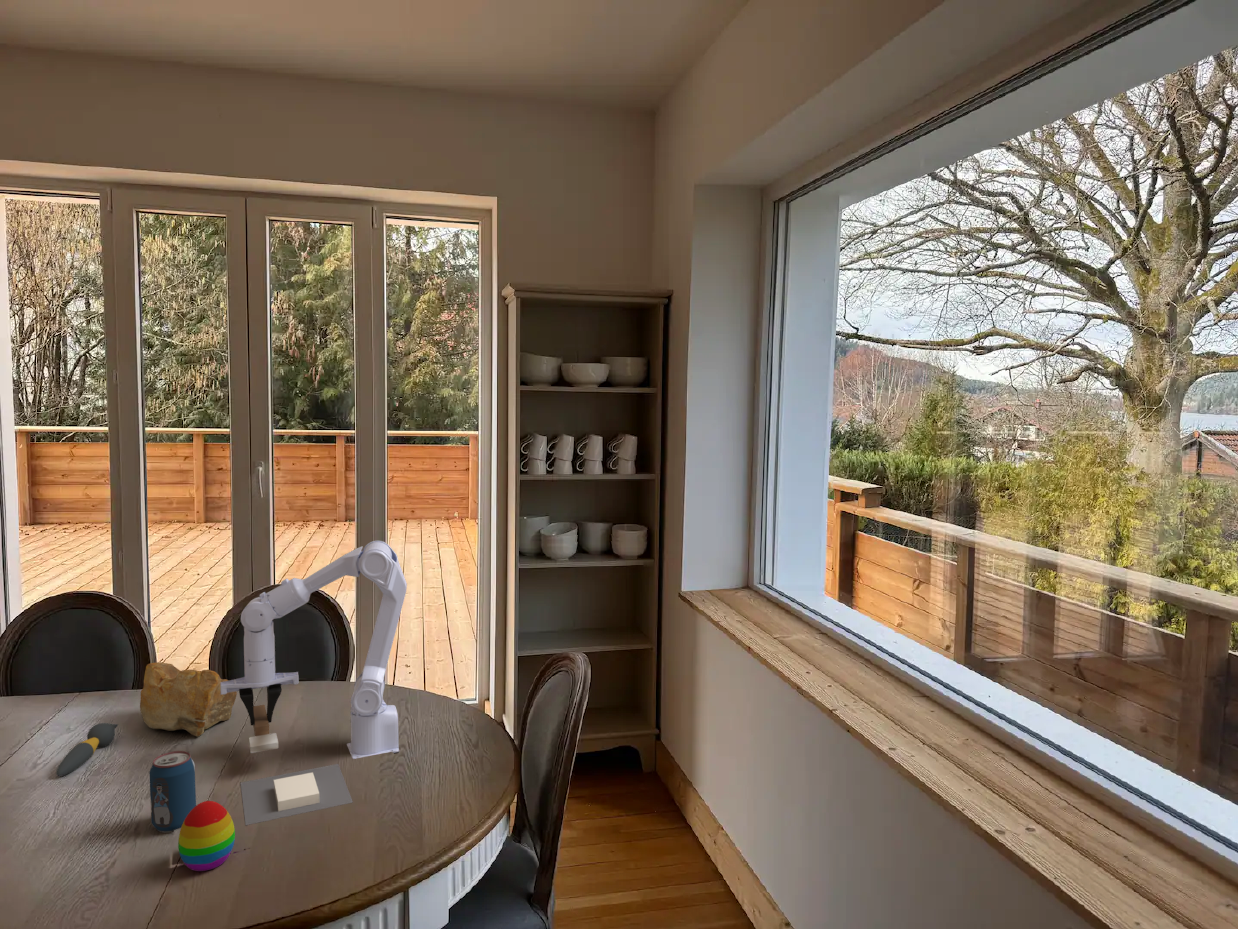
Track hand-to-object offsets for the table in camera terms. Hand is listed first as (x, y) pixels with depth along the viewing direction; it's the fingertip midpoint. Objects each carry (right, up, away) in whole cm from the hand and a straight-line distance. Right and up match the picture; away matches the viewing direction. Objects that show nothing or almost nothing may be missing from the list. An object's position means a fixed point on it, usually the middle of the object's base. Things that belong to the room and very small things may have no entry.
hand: (260, 722), depth 167 cm
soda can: (-5, -10, -24) cm, 27 cm away
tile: (+11, -8, -11) cm, 18 cm away
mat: (+13, -9, -14) cm, 21 cm away
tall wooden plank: (0, -3, 0) cm, 3 cm away
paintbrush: (-35, -8, +1) cm, 36 cm away
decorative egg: (+7, -12, -35) cm, 38 cm away
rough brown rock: (-22, -6, +17) cm, 28 cm away
